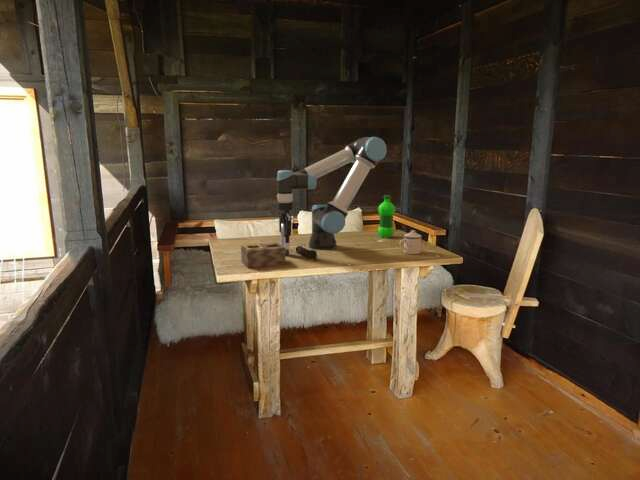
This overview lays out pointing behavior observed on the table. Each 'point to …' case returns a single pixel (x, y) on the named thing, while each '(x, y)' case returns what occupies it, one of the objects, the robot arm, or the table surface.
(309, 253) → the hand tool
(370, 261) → the table surface
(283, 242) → the peg
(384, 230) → the plastic bottle
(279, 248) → the hole block
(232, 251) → the table surface
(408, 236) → the teacup with lid
